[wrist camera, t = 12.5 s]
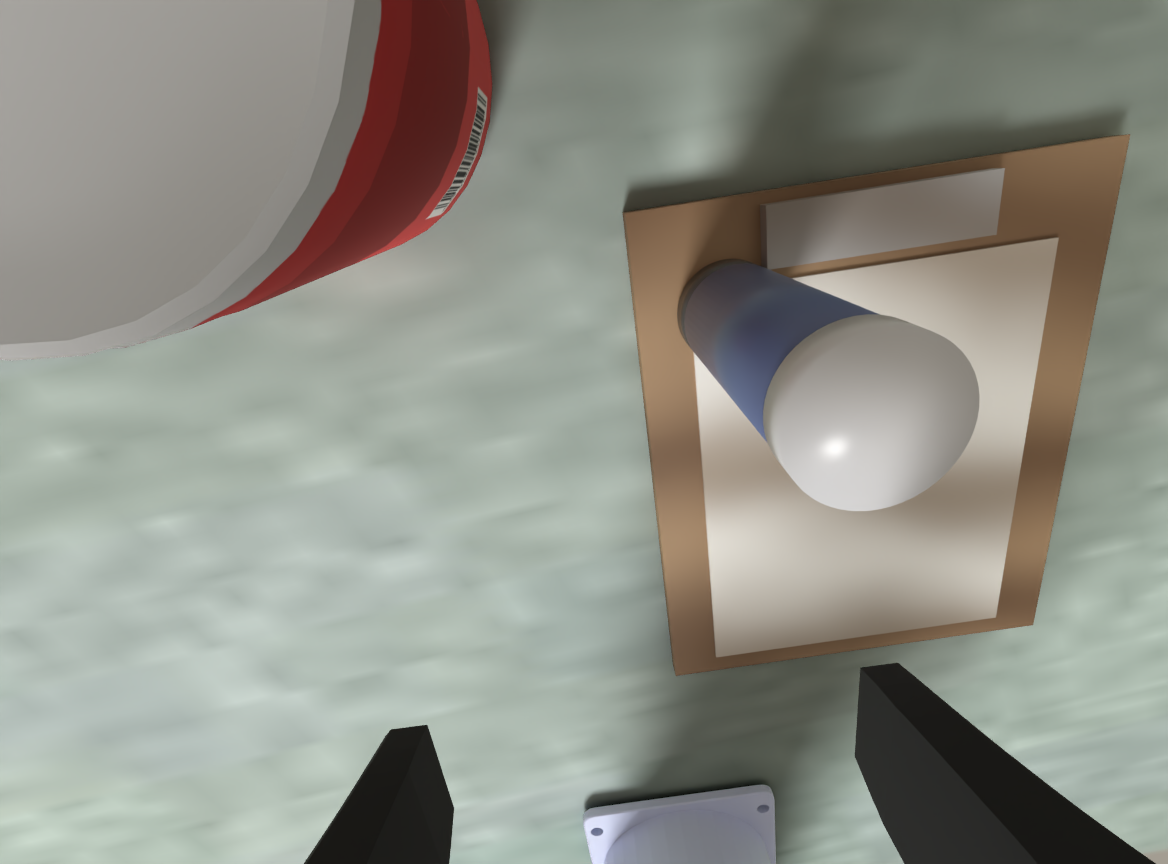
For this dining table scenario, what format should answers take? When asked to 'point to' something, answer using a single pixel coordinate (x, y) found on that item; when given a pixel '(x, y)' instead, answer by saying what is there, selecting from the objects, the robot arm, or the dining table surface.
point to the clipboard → (914, 294)
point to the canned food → (218, 153)
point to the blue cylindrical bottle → (832, 384)
